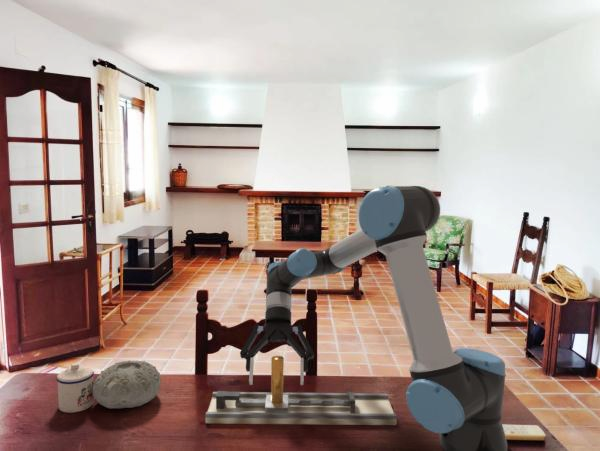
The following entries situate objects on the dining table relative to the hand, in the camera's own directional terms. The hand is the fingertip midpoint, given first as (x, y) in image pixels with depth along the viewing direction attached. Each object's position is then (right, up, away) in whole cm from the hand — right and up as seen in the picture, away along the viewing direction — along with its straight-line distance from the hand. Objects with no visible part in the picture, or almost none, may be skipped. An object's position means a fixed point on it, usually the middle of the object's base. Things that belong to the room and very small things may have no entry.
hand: (276, 383), depth 125 cm
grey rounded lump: (-42, -7, +6) cm, 43 cm away
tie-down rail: (+6, -8, +2) cm, 11 cm away
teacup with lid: (-54, -7, +5) cm, 55 cm away
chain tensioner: (+5, -6, +2) cm, 8 cm away
